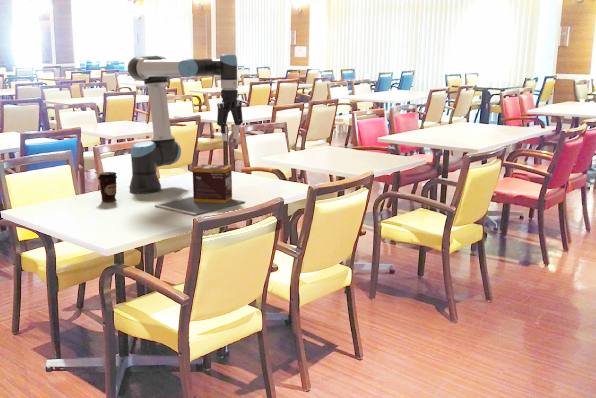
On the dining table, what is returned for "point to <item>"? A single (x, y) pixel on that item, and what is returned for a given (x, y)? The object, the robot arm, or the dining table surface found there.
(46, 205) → the dining table surface
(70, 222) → the dining table surface
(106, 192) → the coffee cup
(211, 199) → the supplement box
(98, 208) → the dining table surface
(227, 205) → the mat
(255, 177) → the dining table surface
